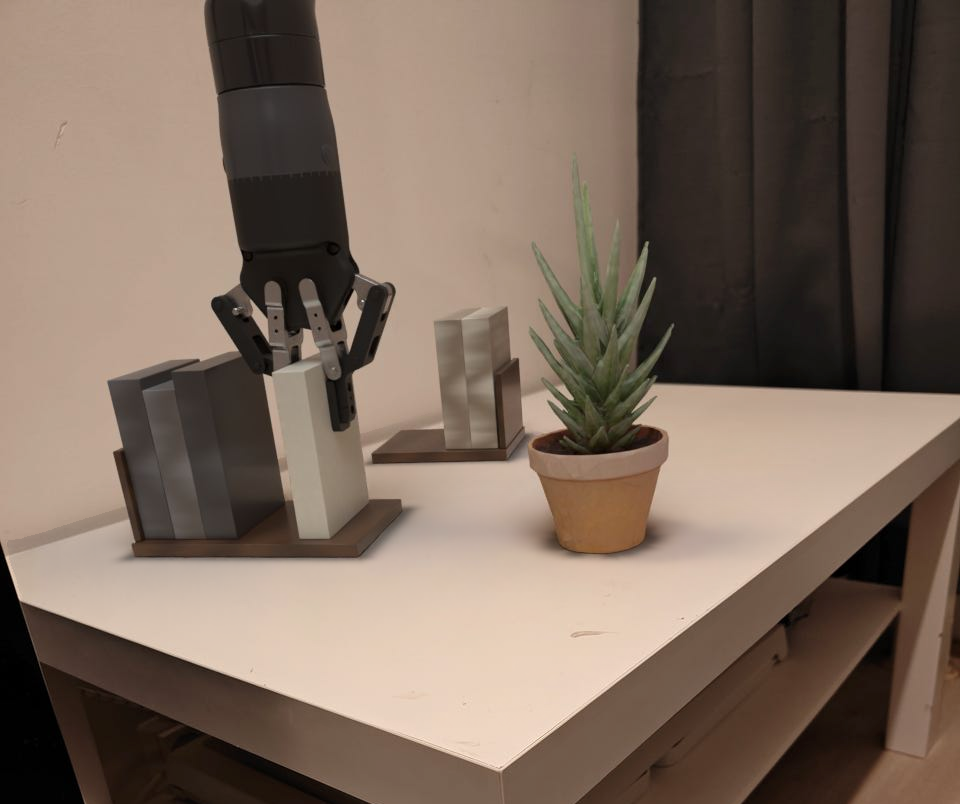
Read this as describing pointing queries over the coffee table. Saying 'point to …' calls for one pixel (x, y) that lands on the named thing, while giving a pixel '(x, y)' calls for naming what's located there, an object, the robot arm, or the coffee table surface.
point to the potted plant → (598, 402)
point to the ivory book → (318, 452)
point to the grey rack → (214, 467)
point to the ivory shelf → (468, 394)
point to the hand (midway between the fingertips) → (322, 429)
